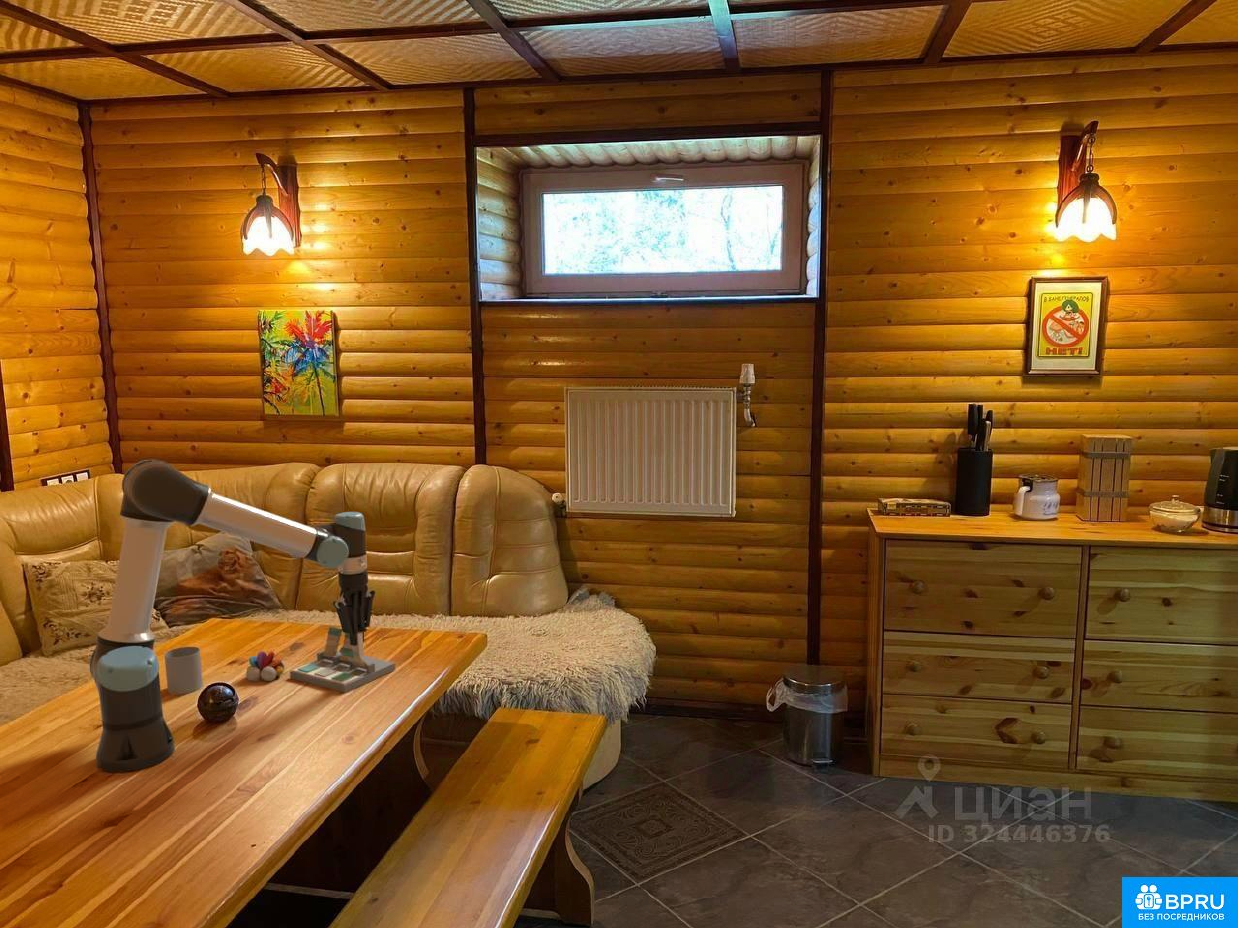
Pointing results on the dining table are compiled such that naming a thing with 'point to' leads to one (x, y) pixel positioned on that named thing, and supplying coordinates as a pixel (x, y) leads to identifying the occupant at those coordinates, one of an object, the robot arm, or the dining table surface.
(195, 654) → the cup
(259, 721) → the dining table surface
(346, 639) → the lever
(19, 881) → the dining table surface
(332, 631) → the lever
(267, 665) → the rainbow disc wheeled toy
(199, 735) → the dining table surface
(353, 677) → the switch board
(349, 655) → the lever
